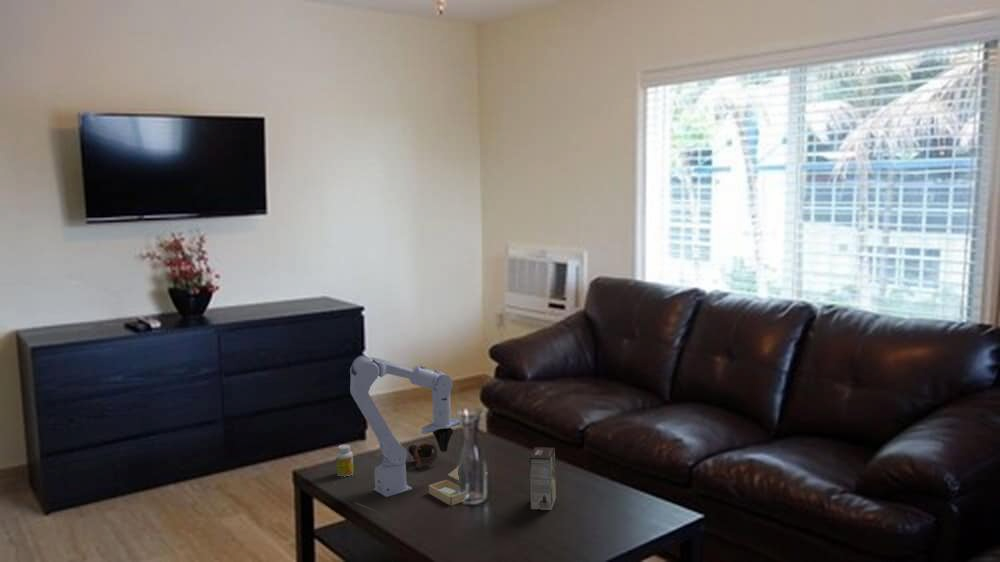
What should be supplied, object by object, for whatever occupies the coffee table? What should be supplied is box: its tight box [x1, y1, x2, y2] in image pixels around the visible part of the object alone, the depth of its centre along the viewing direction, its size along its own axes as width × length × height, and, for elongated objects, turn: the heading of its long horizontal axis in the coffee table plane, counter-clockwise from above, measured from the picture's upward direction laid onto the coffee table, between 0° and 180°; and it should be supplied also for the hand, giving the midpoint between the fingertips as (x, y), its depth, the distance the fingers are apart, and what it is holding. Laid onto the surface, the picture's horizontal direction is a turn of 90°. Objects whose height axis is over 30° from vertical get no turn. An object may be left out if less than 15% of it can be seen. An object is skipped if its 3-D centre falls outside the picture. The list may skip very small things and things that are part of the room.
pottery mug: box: [407, 442, 440, 469], centre depth 271 cm, size 12×10×8 cm
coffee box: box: [529, 446, 557, 511], centre depth 235 cm, size 9×6×16 cm
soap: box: [439, 487, 457, 496], centre depth 241 cm, size 3×5×2 cm, turn 48°
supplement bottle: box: [336, 444, 355, 478], centre depth 262 cm, size 5×5×10 cm
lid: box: [447, 465, 489, 481], centre depth 246 cm, size 7×12×1 cm, turn 38°
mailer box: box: [428, 479, 467, 506], centre depth 242 cm, size 7×12×3 cm, turn 38°
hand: (443, 450), depth 254 cm, fingers closed
